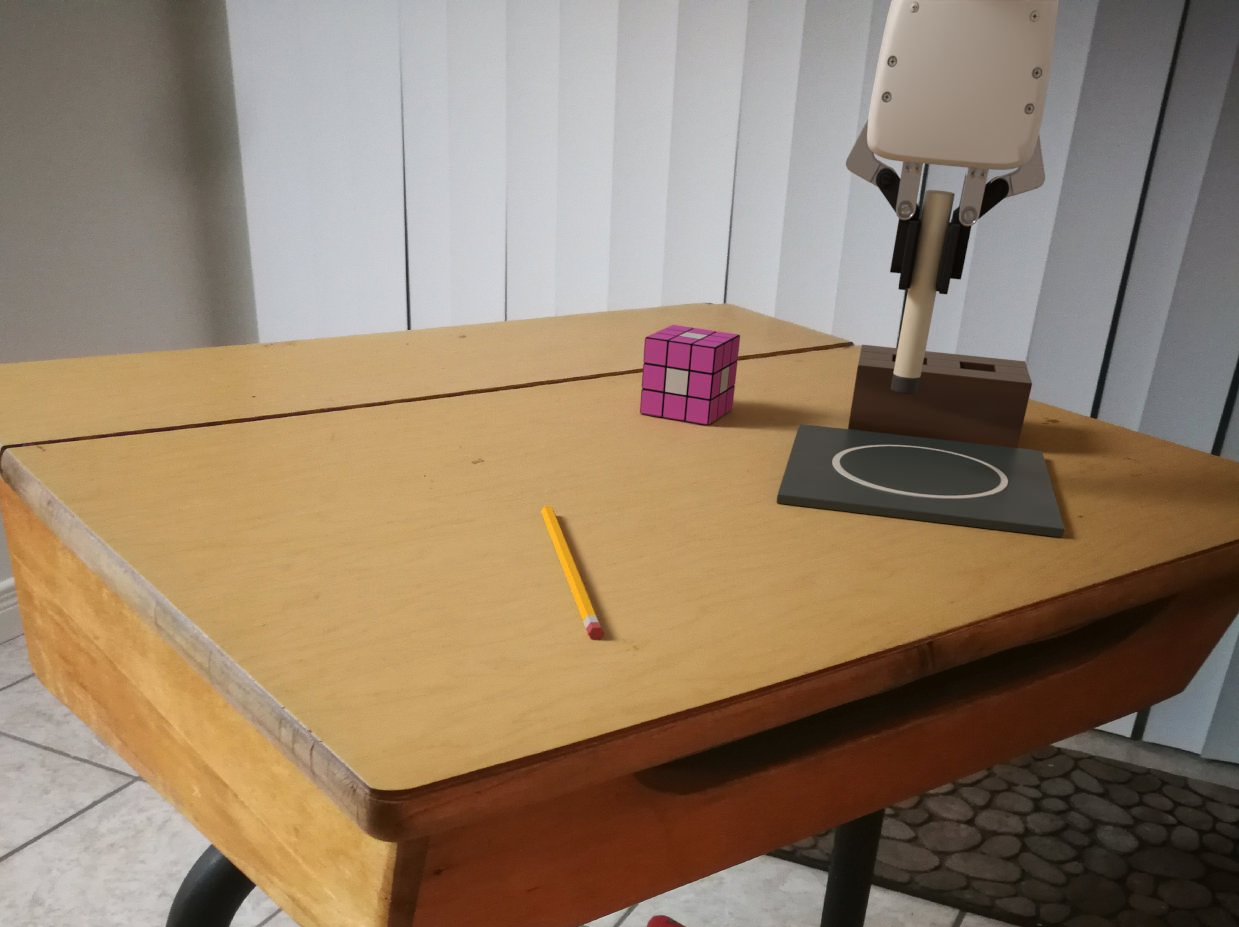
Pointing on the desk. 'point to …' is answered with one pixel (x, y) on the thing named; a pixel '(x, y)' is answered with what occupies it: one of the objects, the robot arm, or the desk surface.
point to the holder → (943, 398)
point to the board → (921, 480)
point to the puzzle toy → (689, 374)
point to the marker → (922, 291)
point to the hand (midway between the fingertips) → (923, 286)
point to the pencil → (572, 575)
